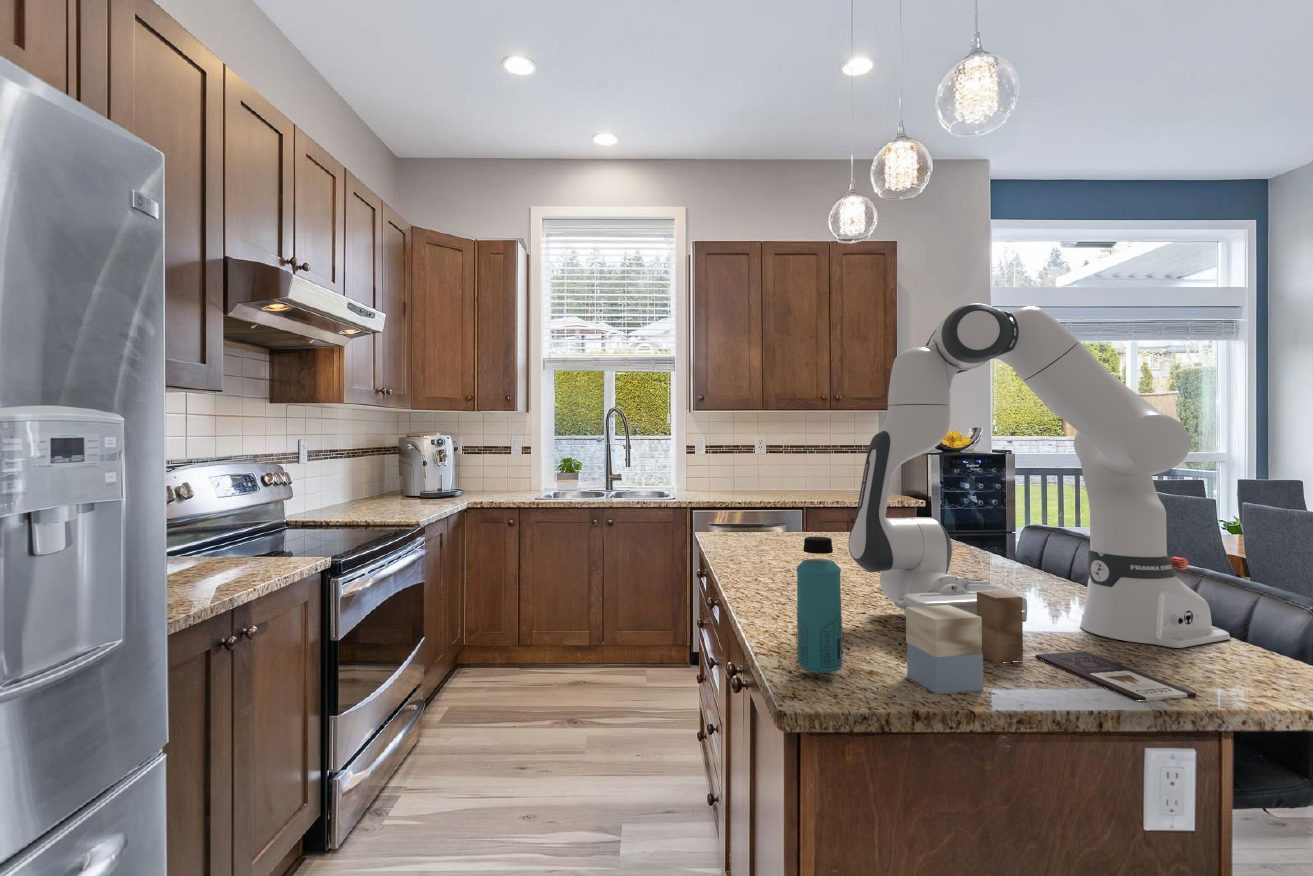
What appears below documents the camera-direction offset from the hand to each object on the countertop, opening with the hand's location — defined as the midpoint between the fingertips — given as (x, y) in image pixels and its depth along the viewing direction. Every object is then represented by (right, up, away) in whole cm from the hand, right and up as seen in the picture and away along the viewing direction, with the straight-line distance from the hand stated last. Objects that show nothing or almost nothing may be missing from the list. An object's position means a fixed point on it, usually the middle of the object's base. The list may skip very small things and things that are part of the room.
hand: (996, 618), depth 104 cm
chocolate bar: (+12, -7, -9) cm, 16 cm away
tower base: (-13, -6, -11) cm, 18 cm away
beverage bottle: (-30, -6, -9) cm, 32 cm away
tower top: (-13, -1, -11) cm, 17 cm away
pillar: (0, -6, -1) cm, 6 cm away
